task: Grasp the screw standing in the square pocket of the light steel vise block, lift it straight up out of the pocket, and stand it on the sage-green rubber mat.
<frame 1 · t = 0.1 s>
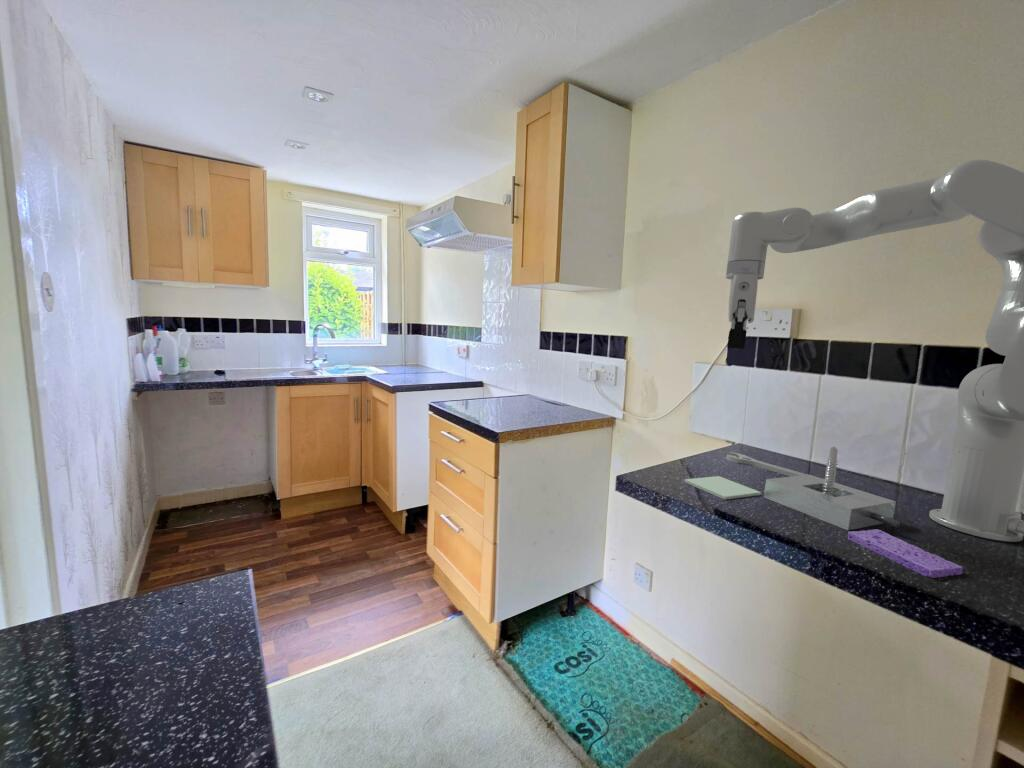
hand: (735, 348, 101), 31 cm above the countertop, tool pointing down, fingers open, 9 cm apart
adjustable wrench: (769, 471, 118), on the countertop
steel vise block: (824, 508, 91), on the countertop
rubber mat: (721, 488, 99), on the countertop
screw: (824, 509, 91), resting in steel vise block
sponges: (900, 559, 72), on the countertop
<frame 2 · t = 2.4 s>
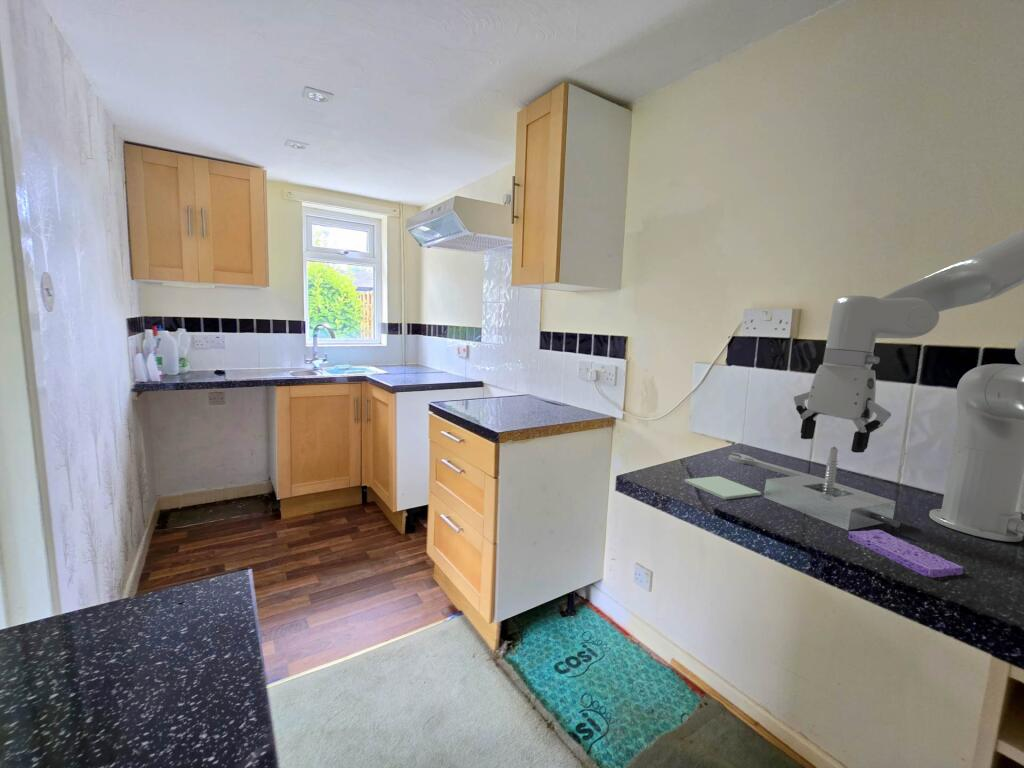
hand: (830, 445, 89), 13 cm above the countertop, tool pointing down, fingers open, 9 cm apart
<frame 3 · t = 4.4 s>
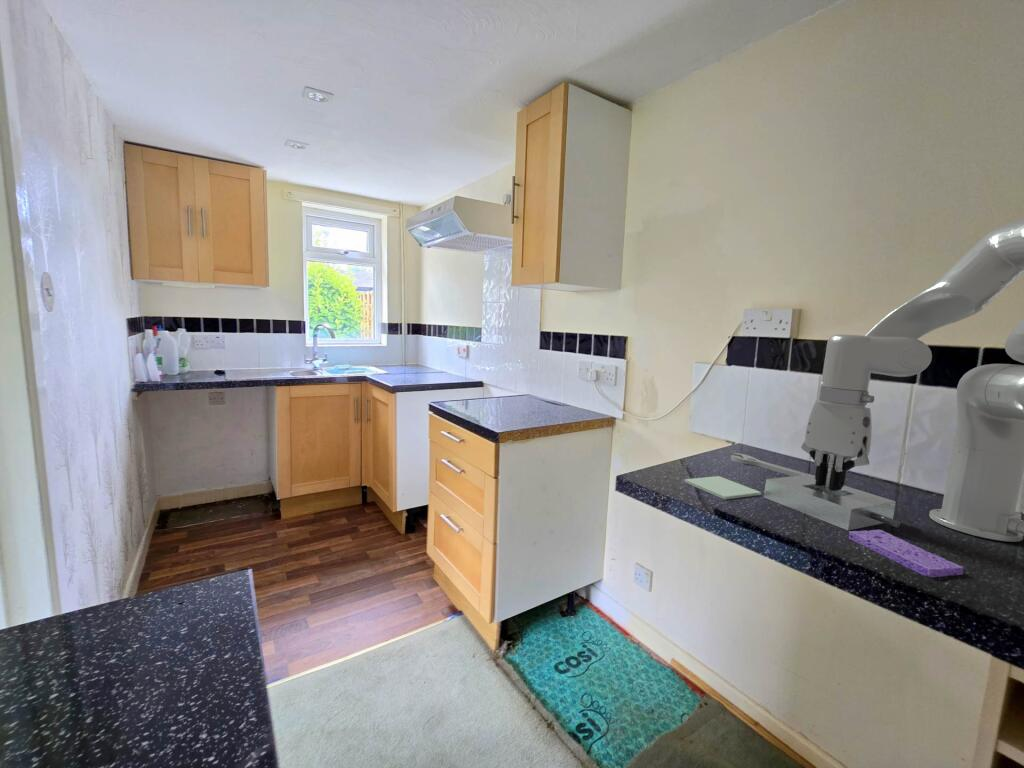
hand: (828, 486, 90), 5 cm above the countertop, tool pointing down, fingers closed on screw, 2 cm apart
screw: (824, 509, 91), resting in steel vise block, touching gripper
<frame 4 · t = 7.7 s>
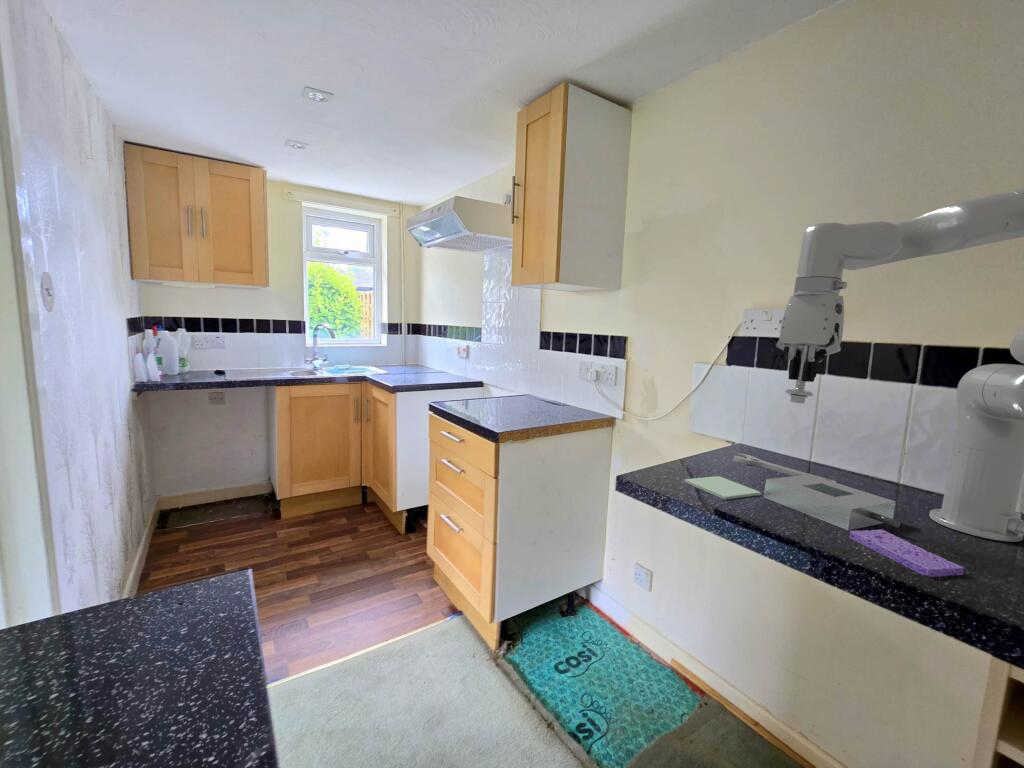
hand: (801, 379, 91), 26 cm above the countertop, tool pointing down, fingers closed on screw
screw: (797, 403, 91), point 21 cm above the countertop, touching gripper
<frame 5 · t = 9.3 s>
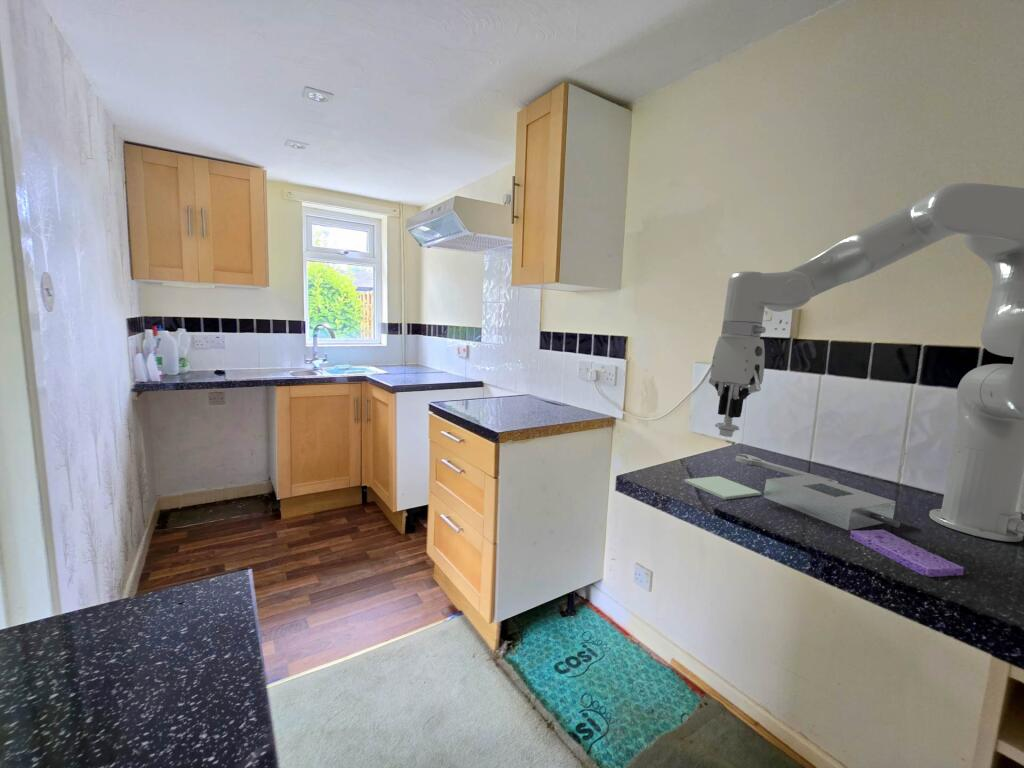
hand: (729, 415, 97), 17 cm above the countertop, tool pointing down, fingers closed on screw
screw: (725, 436, 98), point 12 cm above the countertop, touching gripper
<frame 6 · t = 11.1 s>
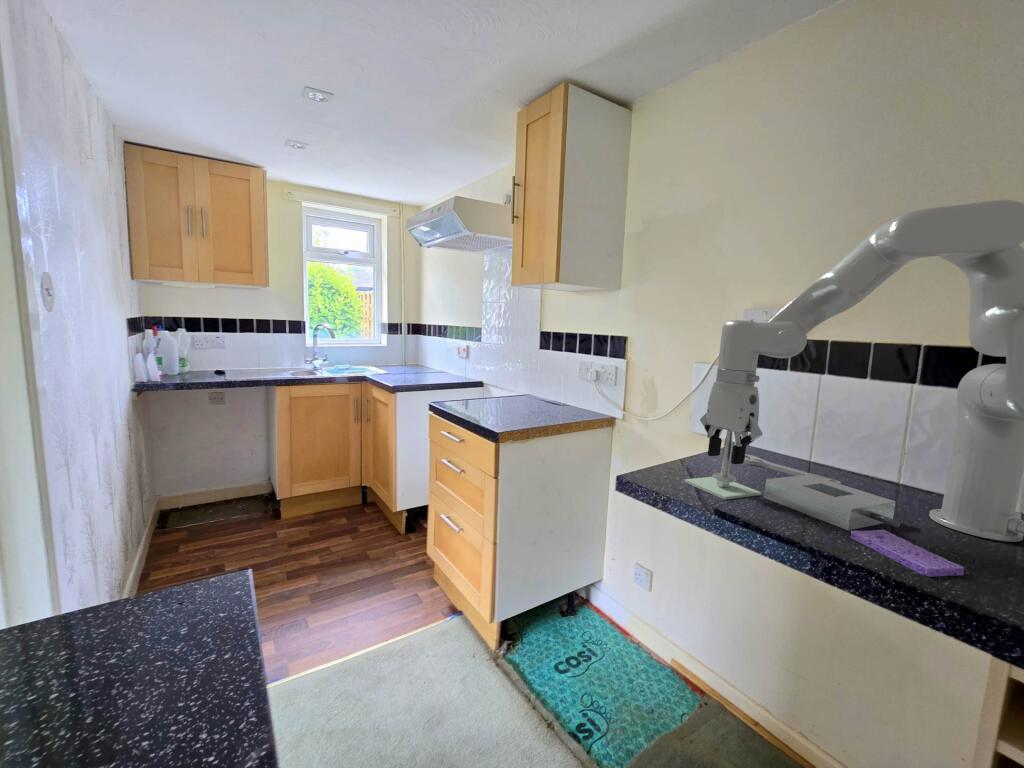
hand: (725, 458, 98), 7 cm above the countertop, tool pointing down, fingers open, 5 cm apart
screw: (722, 486, 99), resting on rubber mat
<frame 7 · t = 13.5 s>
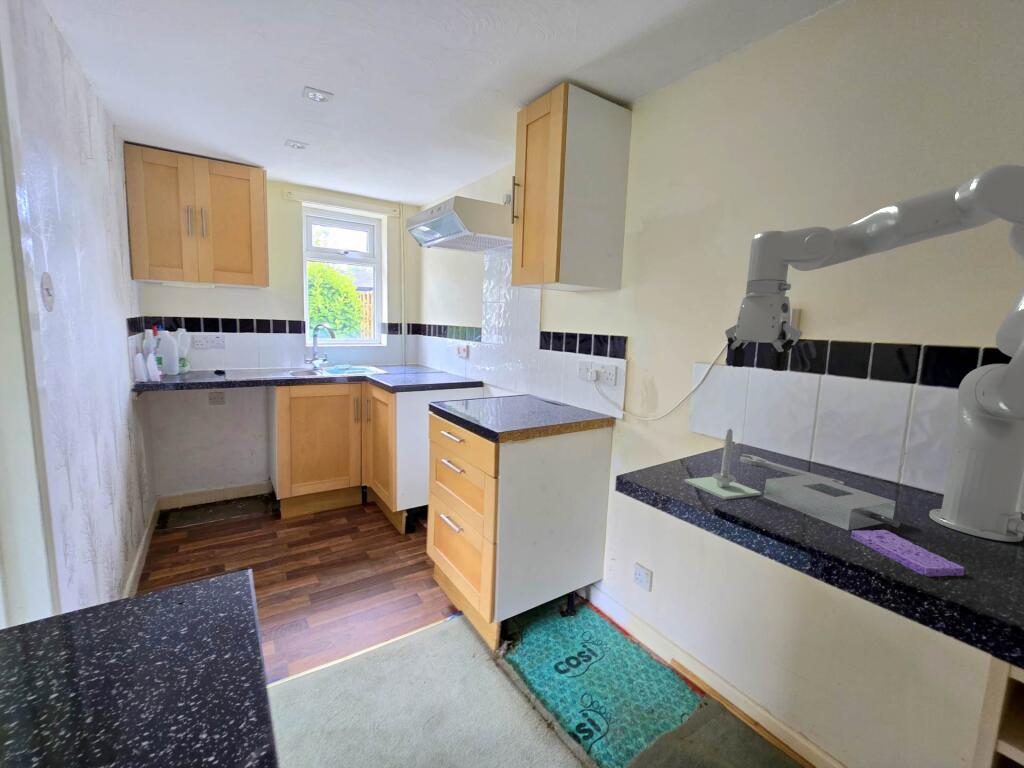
hand: (756, 368, 99), 27 cm above the countertop, tool pointing down, fingers open, 9 cm apart
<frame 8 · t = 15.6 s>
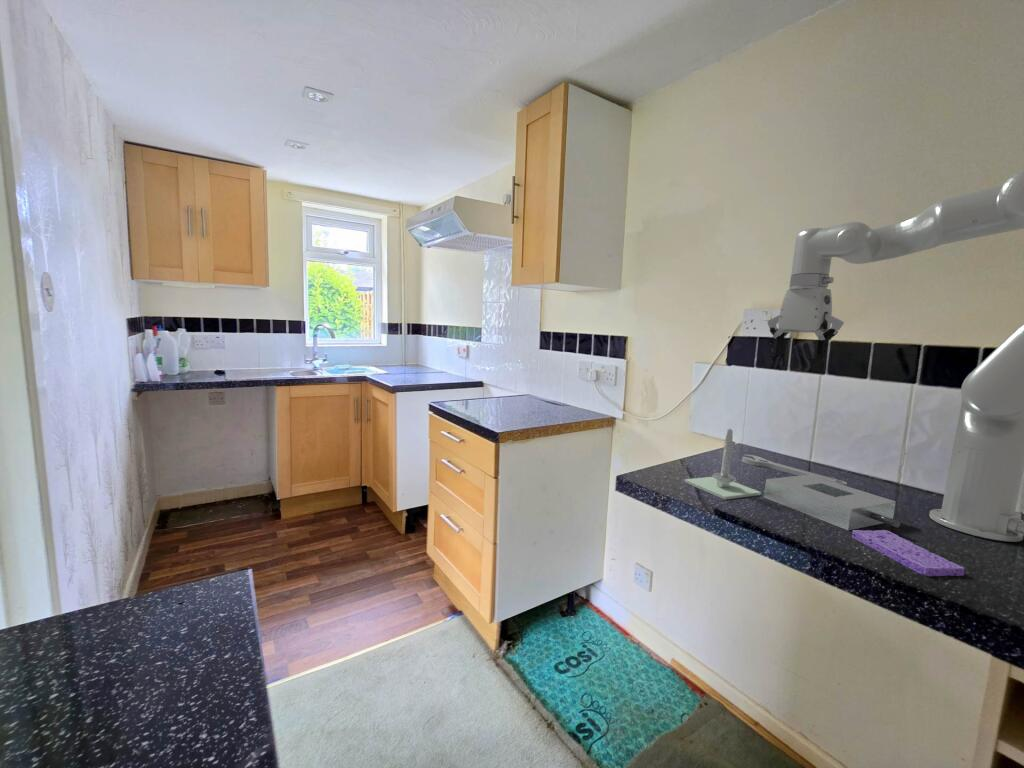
hand: (798, 356, 107), 30 cm above the countertop, tool pointing down, fingers open, 9 cm apart
at the end: screw inside the target area on the rubber mat (0.2 cm from its centre), point 0.4 cm above the rubber mat's base; the gripper is holding nothing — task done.
